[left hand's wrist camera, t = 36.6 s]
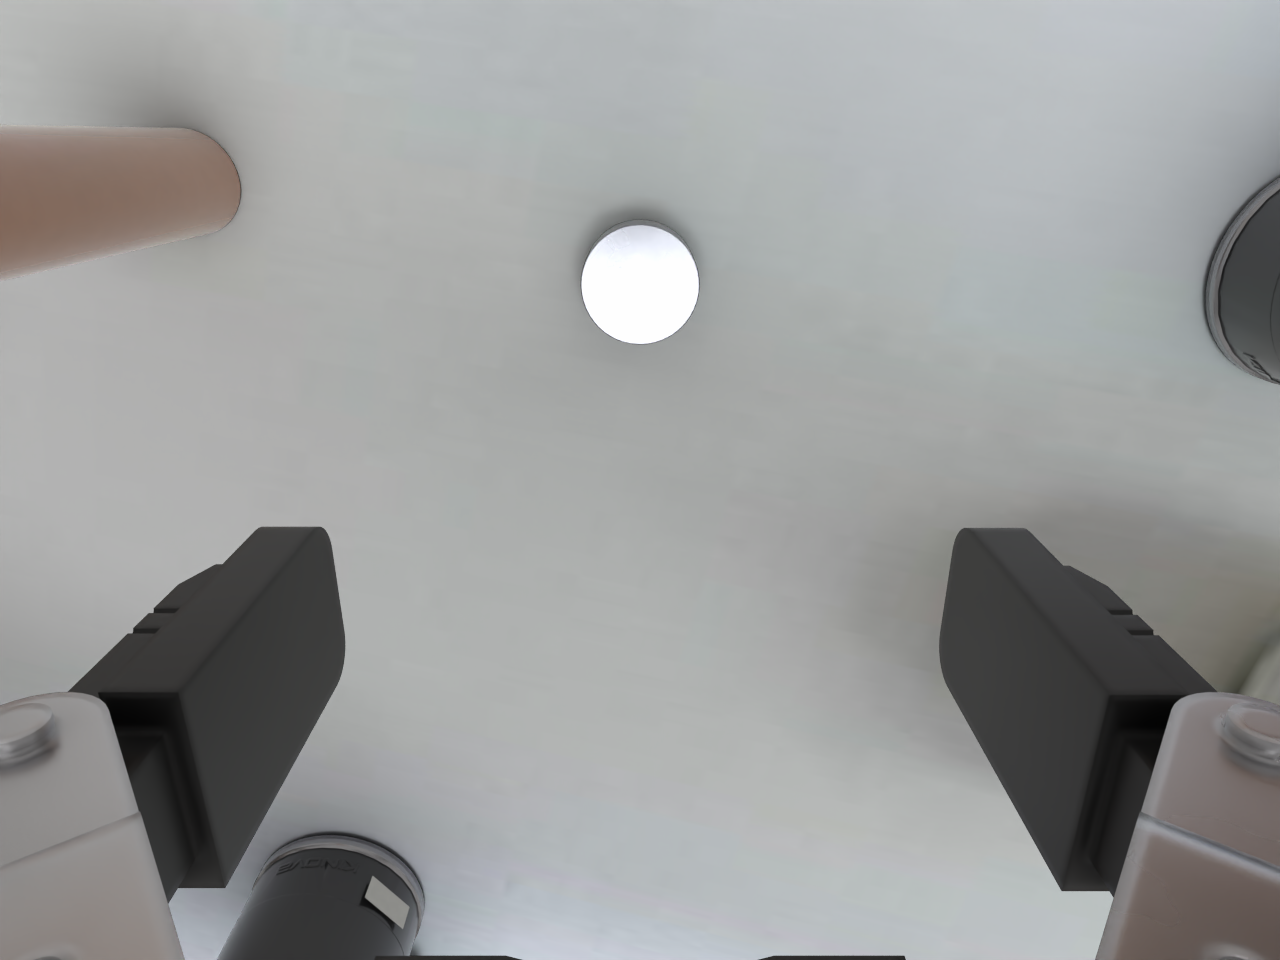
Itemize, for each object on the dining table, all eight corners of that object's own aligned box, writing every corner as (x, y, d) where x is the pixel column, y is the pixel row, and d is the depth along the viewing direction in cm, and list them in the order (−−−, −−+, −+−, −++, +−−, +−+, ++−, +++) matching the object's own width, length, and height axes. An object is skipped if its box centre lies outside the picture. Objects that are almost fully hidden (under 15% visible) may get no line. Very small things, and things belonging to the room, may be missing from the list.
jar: (187, 105, 34) (-184, 80, 18) (262, 194, 35) (-28, 240, 20) (116, 170, 34) (-294, 196, 19) (191, 255, 36) (-138, 342, 21)
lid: (661, 197, 35) (663, 201, 33) (716, 299, 36) (720, 308, 34) (562, 256, 36) (558, 263, 34) (619, 353, 37) (618, 365, 35)
